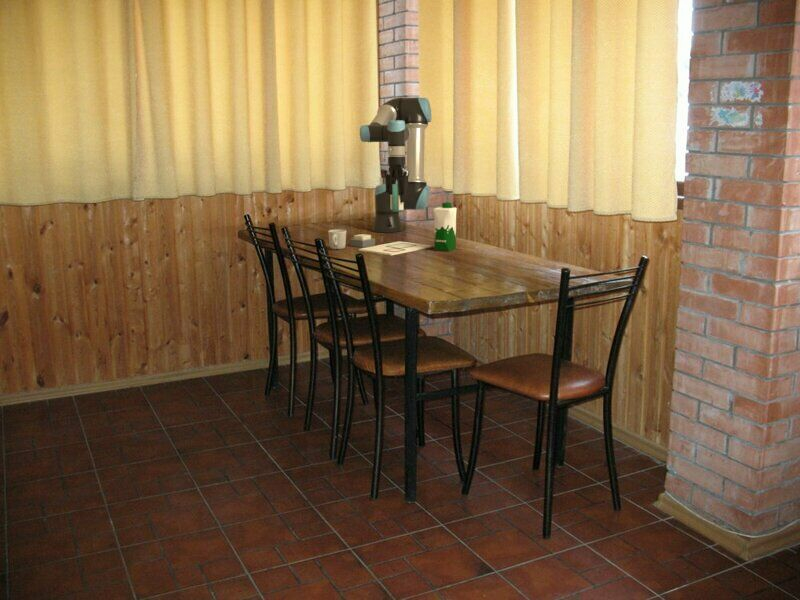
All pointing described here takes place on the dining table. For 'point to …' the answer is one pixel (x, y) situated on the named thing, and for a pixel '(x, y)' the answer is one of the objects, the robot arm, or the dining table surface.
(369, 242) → the button housing
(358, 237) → the button
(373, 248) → the picture board
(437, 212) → the milk carton
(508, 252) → the dining table surface
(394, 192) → the teal cylinder
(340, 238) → the cup
